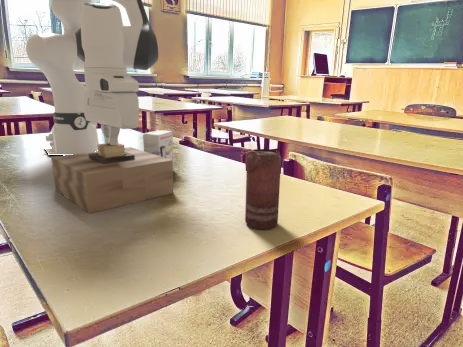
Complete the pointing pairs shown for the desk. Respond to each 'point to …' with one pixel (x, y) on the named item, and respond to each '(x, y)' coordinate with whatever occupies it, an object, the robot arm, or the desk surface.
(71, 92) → the robot arm
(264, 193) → the can
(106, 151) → the peg
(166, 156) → the ink box
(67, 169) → the sleeve block
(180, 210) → the desk surface
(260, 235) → the desk surface
